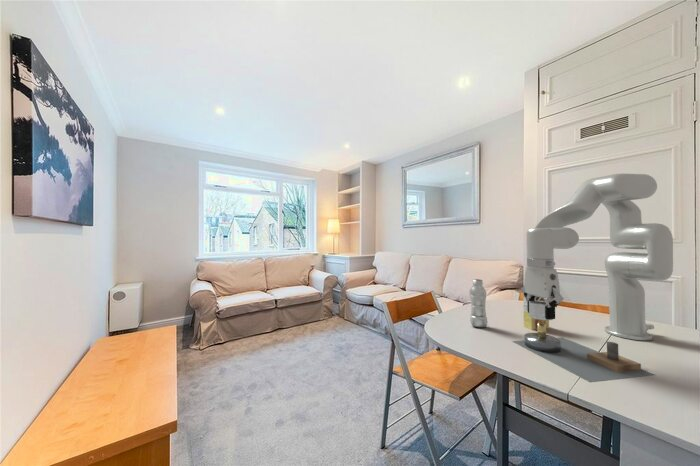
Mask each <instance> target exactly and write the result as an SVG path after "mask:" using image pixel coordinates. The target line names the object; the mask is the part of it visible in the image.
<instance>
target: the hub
mask: <svg viewBox="0 0 700 466" xmlns="http://www.w3.org/2000/svg"><path fill="white" fill-rule="evenodd" d="M558 338H559V337H555V336H553V335H549V334H547V328H546V324H545V323H541V322H538V323H537V332H526V333H525V334H524V340H525V345H526V346H527V347H528V348H530V349H533V350H536V351H539V352H544V353H559V352H560V351H561V341H560V340H559V339H558Z"/></svg>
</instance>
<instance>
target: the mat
mask: <svg viewBox="0 0 700 466" xmlns="http://www.w3.org/2000/svg"><path fill="white" fill-rule="evenodd" d="M557 338H558V339H559V340H560V341H561V351H560V352H559V353H544V352H539V351H536V350H533V349H530V348H528V347H527V346H526V345H525V339H524V340H523V339H522V340H513V341H512V340H511V342H512V343H514V344H516V345H518V346H520V347H522V348H524V349H526V350H527V351H529V352H531V353H533V354H535V355H537V356H539V357H541V358H543V359H545V360H547V361H549V362H550V363H552V364H553V365H557V366H558V367H560V368H561V369H563V370H566V371H567V372H569V373H572V374H574V375H575V376H577V377H578V378H581V379H582V380H585V381H587V382H589V383H594V382H595V383H596V382H597V383H598V382H605V381H614V380H623V379H632V378H641V377H650V376H651V377H652V376H656V374H654V373H652V372H650V371H648V370H645V369H643V368H641V370H632V371H623V372H616V371H614V370H611V369H609V368H607V367H605V366H602V365H600V364H598V363H596V362H593V361H591V360H589V359H587V354H589V353H600V351H597V350H595V349H593V348H590V347H587V346H585V345H582V344H580V343H577V342H575V341H572V340H570V339H568V338H565V337H562V336H561V337H557Z"/></svg>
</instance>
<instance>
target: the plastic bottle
mask: <svg viewBox="0 0 700 466" xmlns="http://www.w3.org/2000/svg"><path fill="white" fill-rule="evenodd" d="M483 283H484V282H483V279H478V278H477V279H476V278H475V279H472V286H471V287H470V288H469V296H470V297H469V298H470V303H471V305H470V307H471V309H470V310H471V311H470V312H471V313H470V318H469V321H470V324H471V326H472V327H474V328H480V329H481V328H482V329H484V328H487V326H488V317H487V312H486V301H487V300H486V299H487V290H486V289H485V287H484V284H483Z"/></svg>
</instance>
